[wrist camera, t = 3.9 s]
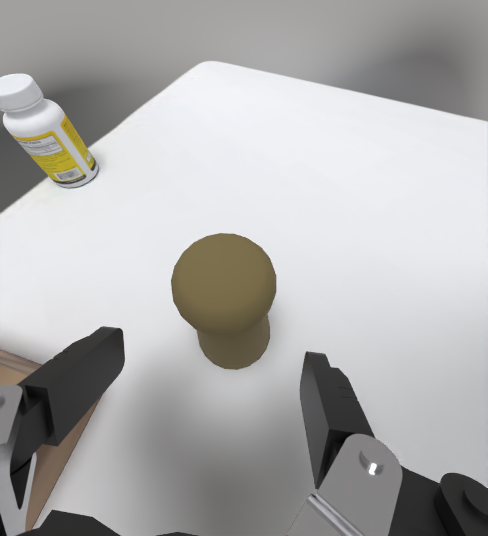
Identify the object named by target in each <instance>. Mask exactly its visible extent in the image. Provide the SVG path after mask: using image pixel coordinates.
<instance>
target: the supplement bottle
mask: <svg viewBox="0 0 488 536" xmlns="http://www.w3.org/2000/svg"><path fill="white" fill-rule="evenodd" d="M0 110H1V111H4V112H5V113H4V116H3V123H4V126H5V127H6V129H7V130H8V131H9V132H10V134H11V135H12V136H13V137H14V138H15V139H16V140H17V141H18V143H19V144H21V146H22V147H23V148H24V149H25V150H26V151H27V153H28V154H29V155H30V156H31V157H32V158H33V159H34V160H35V161H36V163H37V164H38V165H39V166H40V167H41V168H42V169H43V170H44V171H45V172H46V174H47V175H48V176H49V177H50V178H51V179H52V180H53V181H54V182H55V183H56V184H57V185H59V186H62V187H68V188H71V187H77V186H81V185H83V184H85V183H87V182H88V181H90V180H91V179H92V178H93V177H94V176H95V175H96V173H97V170H98V166H97V163H96V161H95V160H94V158H93V157H92V155H91V153H90V152H89V150H88V149H87V147H86V146H85V144H84V143H83V141H82V140H81V138H80V137H79V135H78V133H77V132H76V130H75V129H74V127H73V126H72V124H71V123H70V121H69V120H68V118H67V117H66V115H65V113H64V112H63V110H62V109H61V108H60V106H59V105H57V104H56V103H55V102H53V101H51V100H48V99H43V94H42V92H41V90H40V88H39V87H38V86H37V84H36V83H35V81H34V80H33V79H32V77H31V76H29V75H27V74H11V75H6V76H3V77H0Z"/></svg>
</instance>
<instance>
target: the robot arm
mask: <svg viewBox="0 0 488 536" xmlns="http://www.w3.org/2000/svg"><path fill="white" fill-rule="evenodd" d="M124 362H125V354H124V340H123V331H122V329H120V328H113V327H104V326H103V327H100V328H99V329H98V330H96V331H95V332H94V333H92V334H91V335H90V336H87V337H85V338H83V339H81V340H78V341H76V342H74V343H72V344H71V345H70V346H68V347H67V348H66V349H64V350H63V351H62V352H60V353H59V354H57V355H56V356H55V357H53V359H51V360H49V361H48V362H46V363H45V364H44V365H42V366H41V367H40V368H38V369H37V370H36V371H34V372H33V373H31V374H30V375H29V376H27V377H26V378H25V379H23V380H22V381H21V382H19V383H18V384H16V385H2V386H0V536H120V535H119V534H117V533H116V532H114V531H113V530H111V529H110V528H108V527H107V526H105V525H104V524H102V523H101V522H99V521H98V520H96V519H95V518H93V517H90V516H85V515H79V514H73V513H68V512H62V511H56V510H52V511H51V512H50V513H49V515H48V516H47V518H46V519H45V521H44V522H43V523H42V525H41V526H40V528H37V529H33V530H30V531H26V532H25V522H26V514H27V509H28V503H29V498H30V492H31V487H32V481H33V476H34V470H35V465H36V459H37V456H36V451H37V450H38V449H39V448H40V446H41V445H42V444H45V445H51V446H57V447H58V446H59V444H60V443H61V442H62V441H63V440H64V439H65V437H66V436H67V435H68V434H69V433H70V432H71V430H72V429H73V428H74V427H75V426H76V424H77V423H78V422H79V421H80V420H81V419H82V417H83V416H84V415H85V414H86V413H87V412H88V410H89V409H90V408H91V407H92V406H93V405H94V403H95V402H96V401H97V400H98V399H99V397H100V396H101V395H102V394H103V393H104V392H105V390H106V389H107V388H108V387H109V386H110V385H111V383H112V382H113V381H114V380H115V379H116V378H117V376H118V375H119V374H120V373H121V371H122V369H123V366H124ZM300 400H301V406H302V412H303V418H304V424H305V430H306V435H307V441H308V447H309V453H310V459H311V465H312V471H313V477H314V483H315V489H319V490H318V491H317V493H316V494H315V496H314V495H313V494H311V495H310V496H309V497H308V499H307V500H306V502H305V503H304V505H303V507H302V509H301V510H300V512H299V514H298V516H297V517H296V519H295V521H294V523H293V524H292V526H291V528H290V530H289V531H288V533H287V535H286V536H488V488H486V487H485V486H483V485H482V484H480V483H479V482H477V481H475V480H474V479H472V478H470V477H467V476H465V475H462V474H458V473H447V474H445V475H444V476H443V477H442V479H441V481H440V483H437V482H435V481H433V480H430V479H428V478H426V477H424V476H421V475H419V474H417V473H414V472H412V471H410V470H408V469H406V468H404V467H403V466H401V465H400V464H399V461H398V460H397V458H396V457H395V455H394V454H393V453H392V452H391V450H390V449H389V448H388V447H386V446H385V445H384V444H383V443H381V442H380V441H378V440H377V439H375V436H374V434H373V432H372V430H371V428H370V425H369V423H368V421H367V419H366V417H365V415H364V412H363V410H362V408H361V406H360V404H359V401H357V397H356V395H355V393H354V391H353V388H352V386H351V384H350V382H349V380H348V378H347V377H346V376H345V375H344V374H343V373H342V372H341V370H340V369H339V368H332V367H330V364H329V362H328V359H327V357H326V355H325V354H323V353H315V352H306V354H305V358H304V364H303V370H302V376H301V382H300ZM157 536H197V535H192V534H186V533H180V532H175V533H169V534H163V535H157Z"/></svg>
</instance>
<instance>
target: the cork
mask: <svg viewBox="0 0 488 536" xmlns="http://www.w3.org/2000/svg"><path fill="white" fill-rule="evenodd" d="M171 285H172V294H173V301H174V303H175V305H176V307H177V309H178V311H179V313H180V315H181V316H182V317H183V318H184V319H185V320H186V321H187V322H188V323H189V324H190V325H191V326H193V327H194V328H195V329H196V330H197V334H198V338H199V343H200V347H201V349H202V351H203V352H204V354H205V356H206V357H207V358H208V359H209V360H210V361H211V362H212V363H213V364H215V365H218V366H220V367H222V368H224V369H241V368H244V367H248V366H250V365H251V364H253V363H254V362H256V361H257V360H259V358H260V357H261V356H262V354H263V353H264V352H265V350H266V348H267V345H268V342H269V339H270V326H269V321H268V316H267V313H268V312H269V311H270V308H271V305H272V303H273V300H274V297H275V294H276V274H275V271H274V268H273V265H272V263H271V260H270V258H269V256H268V255H267V254H266V253H265V252H264V250H263V249H262V248H261V247H260V246H258V245H257V244H255V243H254V242H252V241H251V240H249V239H248V238H245V237H242V236H239V235H236V234H225V233H219V234H215V235H210V236H206V237H204V238H202V239H200V240H198V241H196V242H194V243H193V244H192V245H191V246H190V247H189V248H188V249H186V250H185V251H184V252H183V254H182V255H181V257H180V258H179V260H178V262H177V263H176V265H175V267H174V271H173V275H172V279H171Z"/></svg>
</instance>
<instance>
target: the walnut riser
mask: <svg viewBox="0 0 488 536" xmlns="http://www.w3.org/2000/svg"><path fill="white" fill-rule="evenodd" d="M41 366H42V365H40V364H38V363H35V362H32V361H30V360H27V359H24V358H22V357H19V356H16V355H14V354H11V353H8V352H6V351H3V350H0V386H2V385H16V384H18V383H19V382H21V381H22V380H23V379H25V378H26V377H27V376H29V375H30V374H31V373H33V372H34V371H36V370H37V369H38V368H40V367H41ZM101 396H102V395H101ZM101 396H100V397H99V399H100V398H101ZM99 399H98V400H97V401H96V402H95V403H94V405H93V406H92V407H91V408H90V409H89V410H88V412H87V413H86V414H85V415H84V416H83V417H82V419H81V420H80V421H79V422H78V423H77V424H76V426H75V427H74V428H73V429H72V430H71V432H70V433H69V434H68V435H67V436H66V437H65V439H64V440H63V441H62V442H61V443H60V444H59V446H58V447H57V446H51V445H45V444H42V445H41V446H40V448H39V449H38V450H37V451H36V456H37V459H36V465H35V470H34V476H33V481H32V487H31V492H30V498H29V503H28V509H27V514H26V522H25V532H26V531H30V530H31V529H32V528H33V526H34V524H35V522H36V520H37V518H38V516H39V514H40V512H41V510H42V508H43V507H44V505H45V503H46V501H47V499H48V497H49V495H50V493H51V491H52V489H53V487H54V485H55V484H56V482H57V480H58V478H59V476H60V474H61V472H62V470H63V468H64V466H65V464H66V463H67V461H68V459H69V457H70V455H71V453H72V451H73V449H74V447H75V445H76V443H77V442H78V440H79V438H80V436H81V434H82V432H83V430H84V428H85V426H86V424H87V422H88V421H89V419H90V417H91V415H92V413H93V411H94V409H95V407H96V405H97V403H98V401H99Z"/></svg>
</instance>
